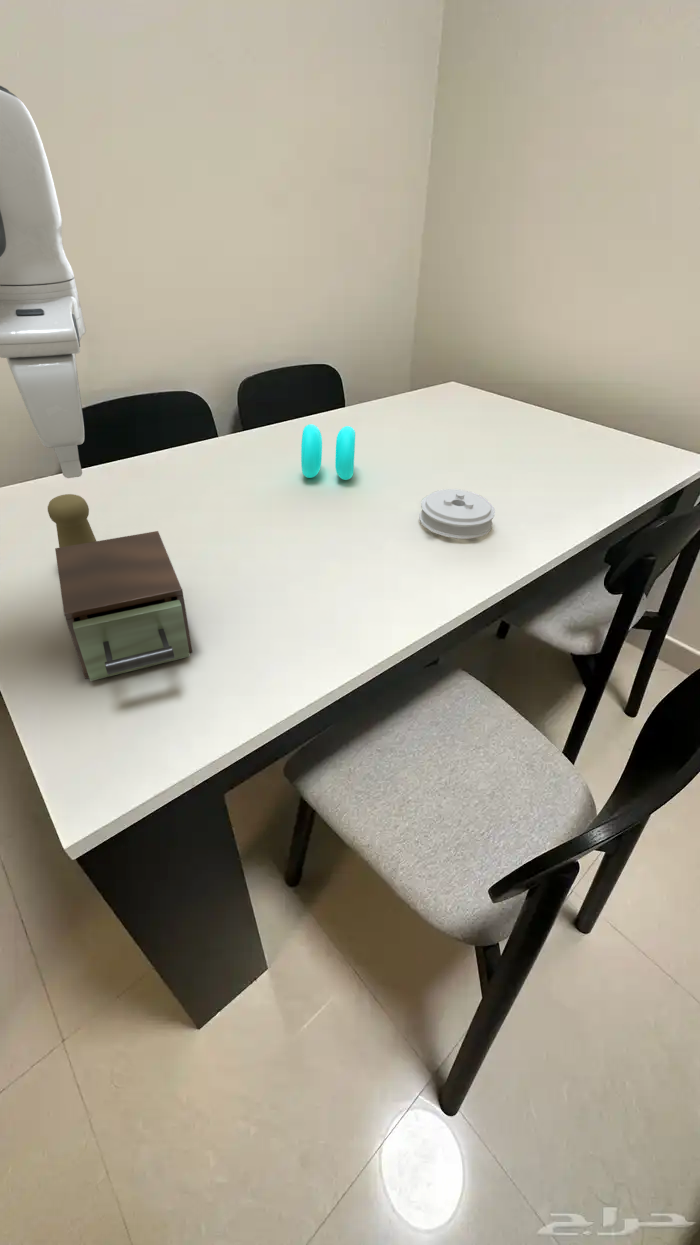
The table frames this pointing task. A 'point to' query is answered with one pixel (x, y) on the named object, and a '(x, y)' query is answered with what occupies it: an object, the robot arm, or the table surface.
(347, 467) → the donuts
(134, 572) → the cabinet
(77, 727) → the table surface
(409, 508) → the table surface
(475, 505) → the white grooved pulley wheel
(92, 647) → the drawer
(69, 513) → the cork
